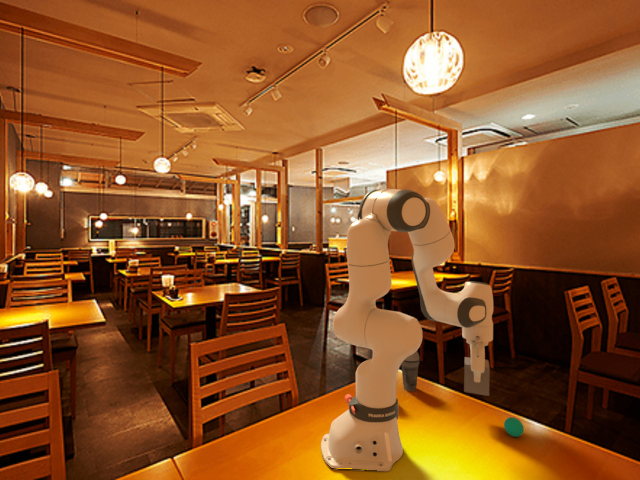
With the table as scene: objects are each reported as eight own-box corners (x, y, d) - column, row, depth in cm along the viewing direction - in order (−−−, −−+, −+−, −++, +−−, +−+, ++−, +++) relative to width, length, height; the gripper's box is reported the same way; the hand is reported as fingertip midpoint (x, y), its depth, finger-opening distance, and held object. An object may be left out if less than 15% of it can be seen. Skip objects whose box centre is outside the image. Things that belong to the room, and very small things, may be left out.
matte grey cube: (489, 396, 105) (489, 367, 105) (464, 391, 108) (464, 364, 108) (487, 386, 112) (488, 360, 111) (464, 382, 114) (464, 356, 114)
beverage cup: (420, 394, 126) (420, 339, 125) (400, 392, 128) (399, 339, 127) (419, 385, 133) (418, 333, 133) (399, 383, 135) (399, 332, 134)
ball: (511, 441, 98) (511, 424, 98) (500, 430, 103) (500, 414, 103) (527, 439, 99) (527, 422, 99) (515, 429, 104) (516, 413, 104)
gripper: (490, 343, 99) (489, 391, 99) (486, 325, 117) (486, 366, 118) (466, 340, 101) (465, 387, 101) (466, 323, 120) (466, 363, 120)
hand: (476, 376), depth 110 cm, fingers closed on matte grey cube, 7 cm apart
